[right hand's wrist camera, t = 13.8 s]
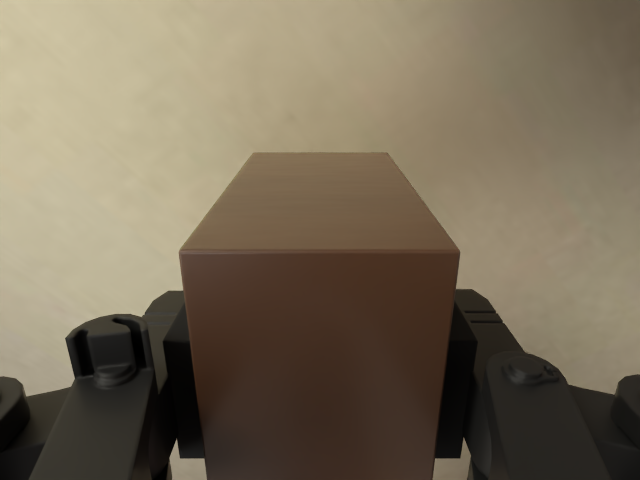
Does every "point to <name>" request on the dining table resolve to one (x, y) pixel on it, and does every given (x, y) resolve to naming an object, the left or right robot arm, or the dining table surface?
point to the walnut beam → (319, 321)
